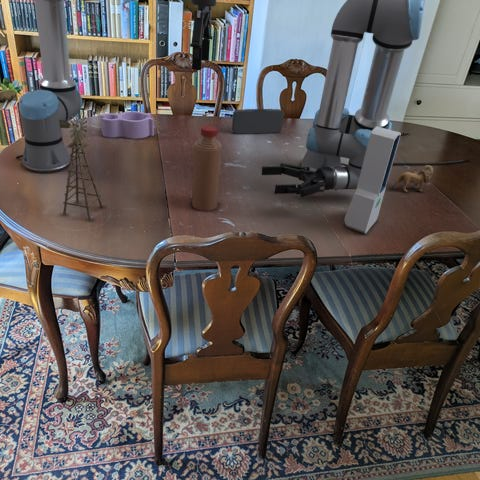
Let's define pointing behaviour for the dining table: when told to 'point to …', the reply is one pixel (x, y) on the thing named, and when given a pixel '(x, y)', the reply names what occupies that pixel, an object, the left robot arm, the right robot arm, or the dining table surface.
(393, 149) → the electronic device
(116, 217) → the dining table surface
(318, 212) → the dining table surface
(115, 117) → the clip
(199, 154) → the bottle
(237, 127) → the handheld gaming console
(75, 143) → the miniature windmill
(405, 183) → the lion figurine
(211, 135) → the cap
